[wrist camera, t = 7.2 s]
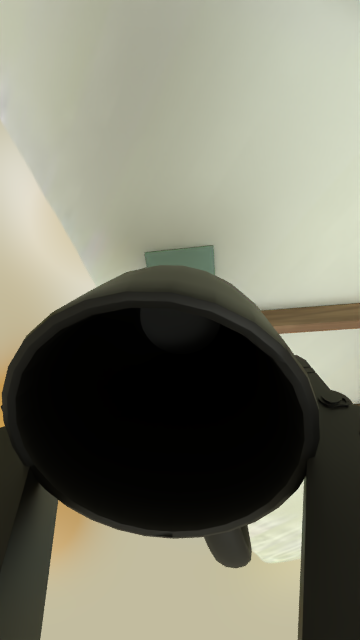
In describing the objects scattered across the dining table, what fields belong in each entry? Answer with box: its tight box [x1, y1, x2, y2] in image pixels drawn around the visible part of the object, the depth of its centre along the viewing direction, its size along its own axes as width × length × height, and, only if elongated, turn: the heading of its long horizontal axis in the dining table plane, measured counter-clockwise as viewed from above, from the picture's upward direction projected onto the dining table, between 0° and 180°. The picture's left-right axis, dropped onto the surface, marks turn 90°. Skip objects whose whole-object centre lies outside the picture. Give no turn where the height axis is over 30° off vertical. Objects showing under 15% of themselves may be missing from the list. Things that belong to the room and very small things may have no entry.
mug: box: [2, 265, 320, 568], centre depth 11 cm, size 8×12×10 cm
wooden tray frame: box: [261, 303, 360, 406], centre depth 33 cm, size 18×24×6 cm
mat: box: [145, 245, 215, 275], centre depth 33 cm, size 9×9×1 cm
